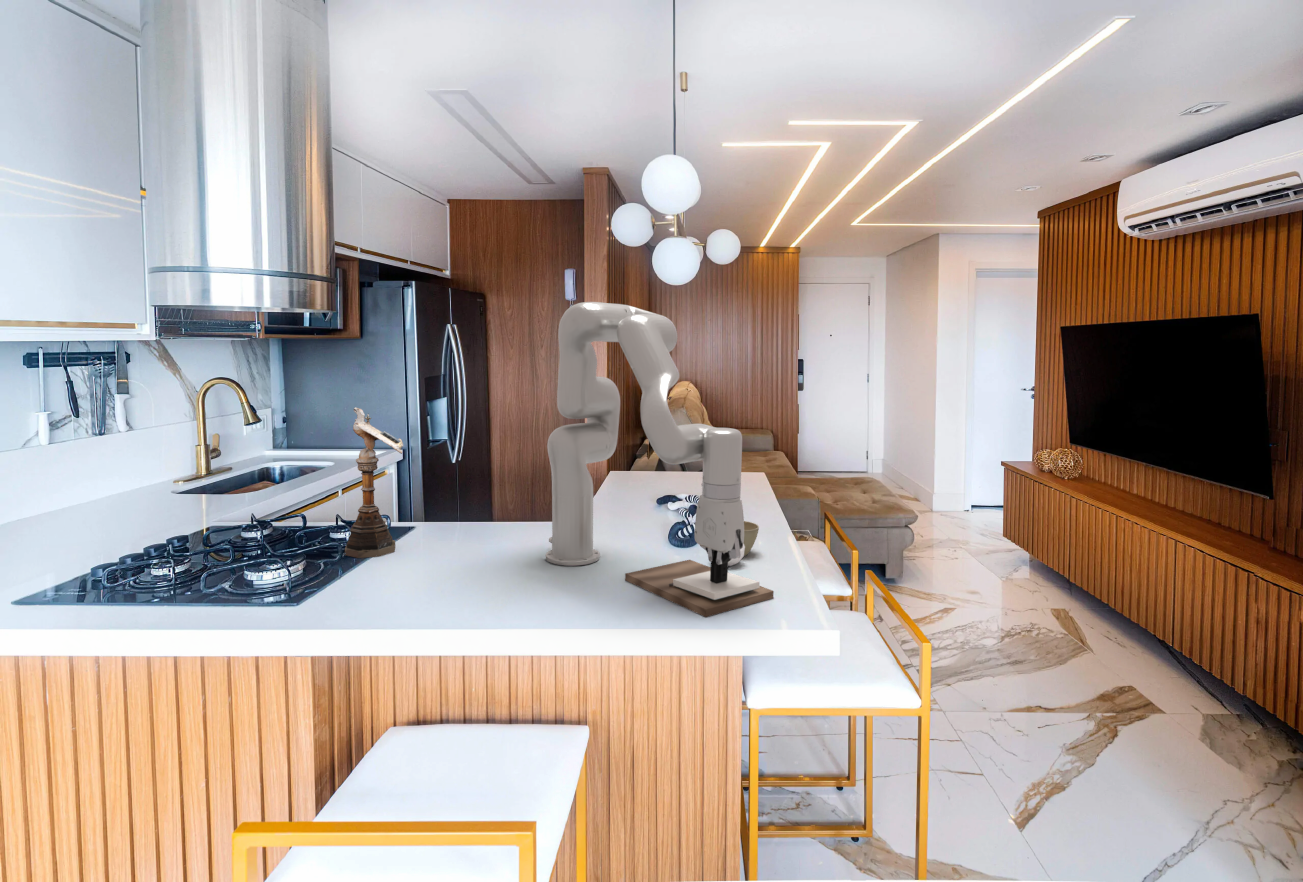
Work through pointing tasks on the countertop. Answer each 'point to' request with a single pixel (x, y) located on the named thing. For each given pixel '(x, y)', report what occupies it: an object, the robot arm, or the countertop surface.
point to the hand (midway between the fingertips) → (718, 581)
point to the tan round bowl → (749, 535)
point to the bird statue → (370, 496)
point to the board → (662, 585)
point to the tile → (715, 585)
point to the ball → (734, 561)
